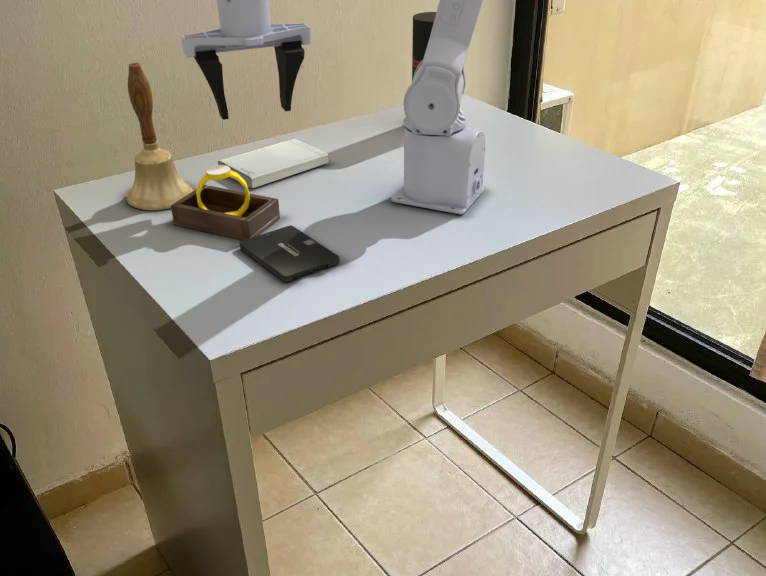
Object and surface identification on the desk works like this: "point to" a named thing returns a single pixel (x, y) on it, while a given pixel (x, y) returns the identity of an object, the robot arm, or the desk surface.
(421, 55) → the deodorant
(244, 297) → the desk surface
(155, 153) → the hand bell
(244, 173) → the hard drive
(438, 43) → the robot arm
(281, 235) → the solid state drive
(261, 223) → the wooden tray
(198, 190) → the watch
